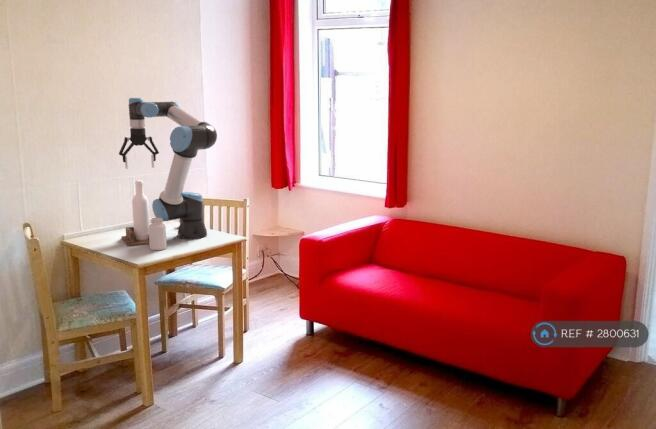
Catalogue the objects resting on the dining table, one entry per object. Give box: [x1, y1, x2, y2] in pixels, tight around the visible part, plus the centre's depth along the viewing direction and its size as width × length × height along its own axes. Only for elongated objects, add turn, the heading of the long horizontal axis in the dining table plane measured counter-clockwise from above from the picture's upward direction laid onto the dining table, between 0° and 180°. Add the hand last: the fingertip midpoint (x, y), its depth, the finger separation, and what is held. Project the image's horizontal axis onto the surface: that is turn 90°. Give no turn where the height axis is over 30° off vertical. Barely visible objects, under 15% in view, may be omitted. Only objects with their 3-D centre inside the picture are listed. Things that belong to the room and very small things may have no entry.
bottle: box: [131, 179, 150, 240], centre depth 308 cm, size 8×8×30 cm
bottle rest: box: [121, 226, 149, 247], centre depth 310 cm, size 18×18×6 cm
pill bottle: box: [148, 217, 167, 251], centre depth 295 cm, size 8×8×15 cm
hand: (139, 167), depth 323 cm, fingers open, 13 cm apart
